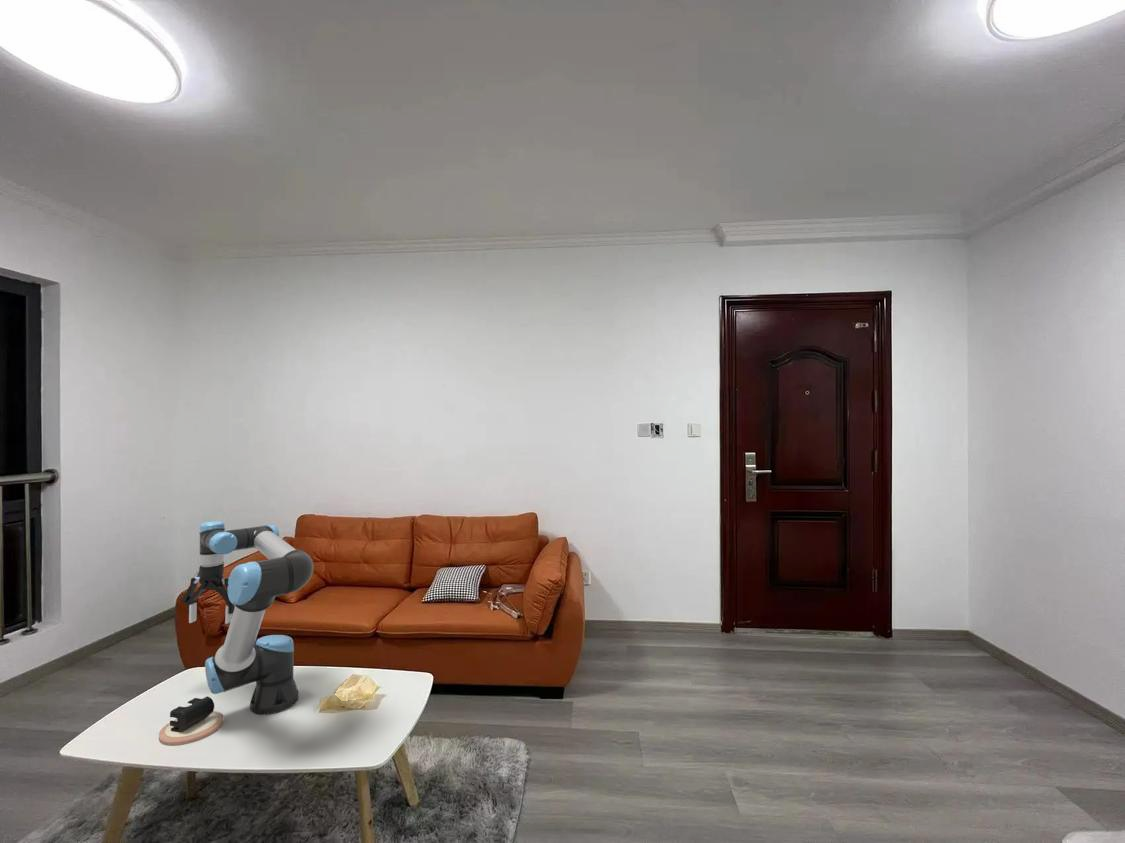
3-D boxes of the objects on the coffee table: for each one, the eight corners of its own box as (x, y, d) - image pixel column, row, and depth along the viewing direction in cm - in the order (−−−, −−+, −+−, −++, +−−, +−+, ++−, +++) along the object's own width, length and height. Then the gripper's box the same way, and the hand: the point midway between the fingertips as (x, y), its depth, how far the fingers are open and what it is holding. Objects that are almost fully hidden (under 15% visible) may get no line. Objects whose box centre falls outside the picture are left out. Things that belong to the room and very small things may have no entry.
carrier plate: (235, 716, 175) (235, 710, 175) (197, 746, 158) (197, 740, 158) (187, 714, 176) (187, 709, 176) (144, 744, 159) (144, 739, 159)
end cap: (186, 734, 162) (186, 712, 162) (168, 731, 163) (168, 710, 163) (214, 717, 171) (214, 697, 171) (197, 714, 173) (197, 694, 173)
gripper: (251, 562, 194) (250, 618, 193) (186, 561, 194) (185, 617, 194) (238, 567, 186) (237, 626, 186) (170, 566, 187) (169, 625, 187)
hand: (210, 622), depth 190 cm, fingers open, 13 cm apart
